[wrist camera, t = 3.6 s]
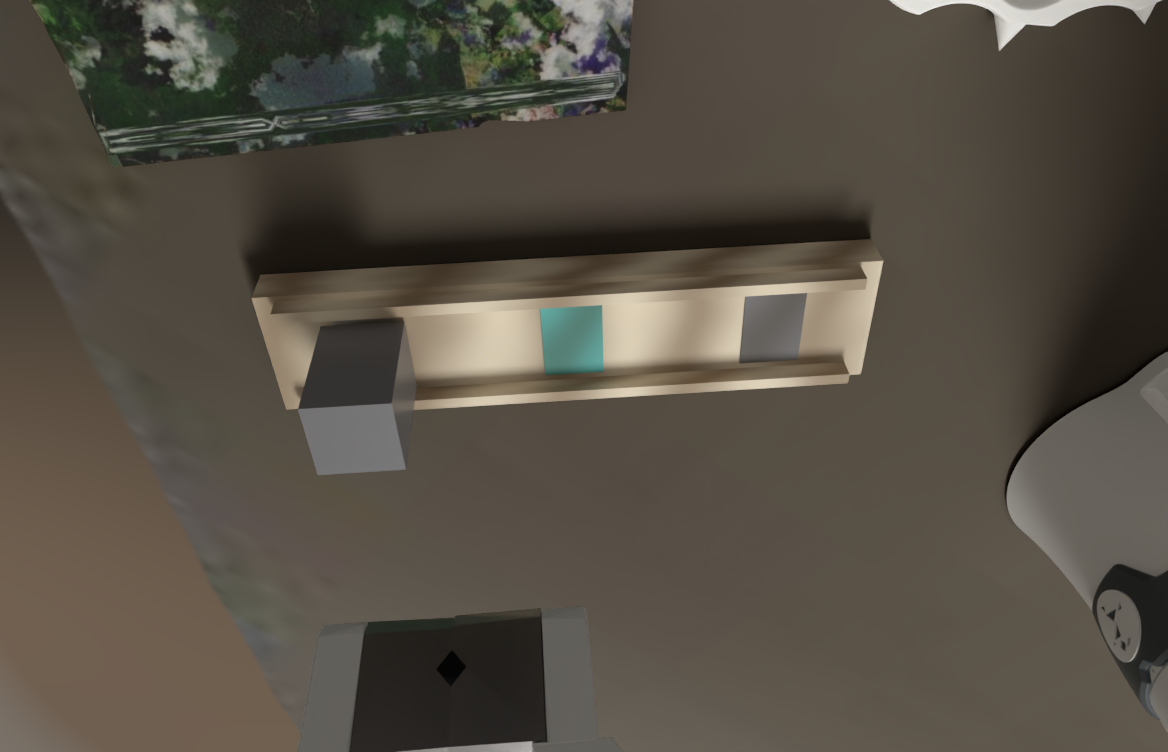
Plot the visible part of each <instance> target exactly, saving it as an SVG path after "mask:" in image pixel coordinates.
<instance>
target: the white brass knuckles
mask: <svg viewBox="0 0 1168 752" xmlns="http://www.w3.org/2000/svg"><path fill="white" fill-rule="evenodd" d="M890 1H891V2H892V3H893V4H895V5H896V6H898V7H899V8H901V9H903V10H905V11H908V12H910V13H913V14H917V15H920V14H922V13H924V12H926V11H928V10H931V9H933V8H936V7H939V6H943V5H948V4H955V3H967V4H974V5H978V6H981V7H984V8H986V9H988V10H990V11H991V12H992V13H993V14H994V19H995V26H996V33H997V39H998V46H999V51H1000V50H1001V49H1002V48H1003V47H1004V46H1005V45H1006V44H1007V43H1008V42H1009V41H1010V40H1011V39H1012V38H1013V37H1014V36H1015V35H1016V34H1017V33H1018V32H1019V31H1020V30H1021V29H1022V28H1023V27H1024V26H1025V25H1026V24H1029V25H1041V26H1054V25H1055V24H1057V23H1058V22H1060V21H1061V20H1063V19H1065V18H1067V17H1068V16H1070V15H1072V14H1075V13H1077V12H1079V11H1082V10H1085V9H1088V8H1092V7H1096V6H1103V5H1117V6H1123V7H1126V8H1129V9H1132V10H1133V11H1134V12H1135V14H1136V15H1137V16H1138V17H1139V18H1140V20H1141V21H1142V22H1143V23H1144V24H1145V23H1146V21H1147V19H1148V17H1149V16H1150V14H1151V12H1152V10H1153V8H1154V6H1155V4H1156V3H1157V2H1159V1H1161V0H890Z"/></svg>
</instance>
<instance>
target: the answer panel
mask: <svg viewBox="0 0 1168 752" xmlns="http://www.w3.org/2000/svg"><path fill="white" fill-rule="evenodd" d="M882 264H883V260H882V258H881V256H880V254H879V252H878V251H877V249H876V247H875V245H874V243H873V242H872V240H871V239H863V240H846V241H828V242H811V243H794V244H777V245H760V246H743V247H726V248H709V249H692V250H674V251H657V252H640V253H623V254H606V255H589V256H572V257H555V258H537V259H520V260H503V261H486V262H469V263H452V264H435V265H418V266H400V267H383V268H366V269H349V270H332V271H315V272H298V273H281V274H264V275H260V277H259V280H258V282H257V285H256V288H255V290H254V293H253V295H252V301H253V304H254V308H255V311H256V314H257V317H258V320H259V324H260V327H261V330H262V333H263V336H264V340H265V343H266V346H267V349H268V352H269V355H270V359H271V362H272V365H273V368H274V371H275V375H276V378H277V381H278V384H279V387H280V391H281V394H282V397H283V400H284V403H285V407H286V409H298V407H299V403H300V400H301V396H302V392H303V389H304V385H305V381H306V378H307V374H308V370H309V367H310V363H311V359H312V356H313V352H314V348H315V345H316V341H317V337H318V334H319V330H320V326H332V325H349V324H365V323H382V322H399V321H405V326H406V332H407V337H408V342H409V347H410V353H411V358H412V363H413V368H414V373H415V379H416V384H417V387H416V395H415V403H414V410H420V409H436V408H452V407H468V406H485V405H501V404H517V403H533V402H549V401H566V400H582V399H598V398H614V397H630V396H647V395H663V394H679V393H695V392H711V391H728V390H744V389H760V388H776V387H792V386H809V385H825V384H841V383H848V380H849V375H855V374H861V370H862V365H863V360H864V355H865V350H866V345H867V340H868V335H869V330H870V325H871V320H872V315H873V310H874V305H875V300H876V295H877V290H878V285H879V280H880V275H881V270H882Z"/></svg>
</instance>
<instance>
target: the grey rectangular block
mask: <svg viewBox="0 0 1168 752" xmlns="http://www.w3.org/2000/svg"><path fill="white" fill-rule="evenodd" d="M416 387H417V384H416V379H415V373H414V368H413V363H412V358H411V353H410V347H409V342H408V337H407V332H406V326H405V321H399V322H382V323H365V324H349V325H332V326H320V330H319V334H318V337H317V341H316V345H315V348H314V352H313V356H312V359H311V363H310V367H309V370H308V374H307V378H306V381H305V385H304V389H303V392H302V396H301V400H300V403H299V407H298V411H299V414H300V418H301V421H302V424H303V428H304V431H305V434H306V437H307V441H308V444H309V447H310V451H311V454H312V457H313V461H314V464H315V467H316V470H317V474H318V475H326V474H342V473H358V472H374V471H390V470H406V465H407V457H408V450H409V442H410V434H411V426H412V418H413V411H414V403H415V395H416Z"/></svg>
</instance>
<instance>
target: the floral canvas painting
mask: <svg viewBox="0 0 1168 752" xmlns="http://www.w3.org/2000/svg"><path fill="white" fill-rule="evenodd" d="M29 1H30V2H31V4H32V6H33V7H34V9H35V10H36V12H37V13H38V15H39V16H40V18H41V19H42V21H43V23H44V25H45V27H46V30H47V32H48V34H49V36H50V38H51V39H52V41H53V43H54V45H55V46H56V48H57V50H58V52H59V54H60V55H61V57H62V59H63V61H64V63H65V65H66V67H67V70H68V72H69V74H70V76H71V78H72V80H73V82H74V85H75V87H76V89H77V91H78V93H79V95H80V97H81V100H82V102H83V104H84V106H85V108H86V110H87V113H88V115H89V117H90V119H91V122H92V124H93V126H94V128H95V131H96V133H97V135H98V137H99V139H100V141H101V143H102V145H103V147H104V149H105V152H106V154H107V156H108V158H109V160H110V163H111V165H112V167H113V168H116V167H125V166H134V165H143V164H151V163H160V162H169V161H177V160H186V159H195V158H205V157H214V156H223V155H232V154H241V153H250V152H259V151H268V150H277V149H286V148H296V147H305V146H314V145H323V144H333V143H341V142H350V141H359V140H367V139H376V138H386V137H395V136H404V135H413V134H422V133H430V132H439V131H448V130H456V129H465V128H474V127H479V126H480V125H481V124H482V123H483V122H485V121H488V120H499V121H536V120H545V119H554V118H562V117H571V116H580V115H589V114H598V113H607V112H615V111H624V110H626V100H627V86H628V72H629V58H630V42H631V28H632V13H633V0H29Z"/></svg>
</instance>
